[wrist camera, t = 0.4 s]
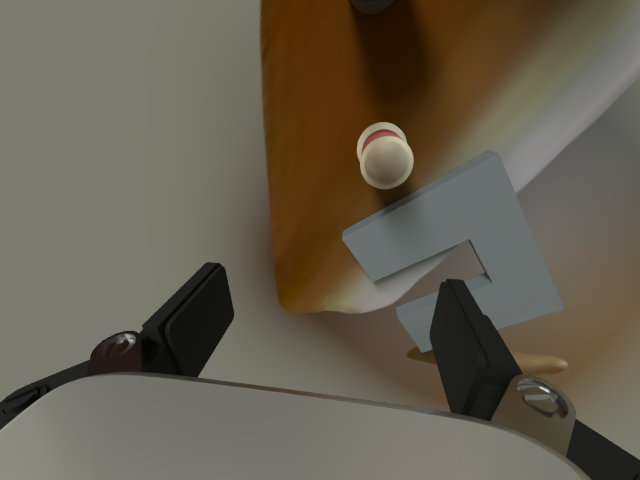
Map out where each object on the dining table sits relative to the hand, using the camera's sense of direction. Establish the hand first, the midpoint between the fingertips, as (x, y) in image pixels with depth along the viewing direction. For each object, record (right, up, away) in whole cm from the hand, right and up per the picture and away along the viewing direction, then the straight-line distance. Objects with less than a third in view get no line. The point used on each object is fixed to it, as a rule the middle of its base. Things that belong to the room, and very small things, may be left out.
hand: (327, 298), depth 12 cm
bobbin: (+7, +14, +21) cm, 26 cm away
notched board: (+18, -1, +26) cm, 32 cm away
